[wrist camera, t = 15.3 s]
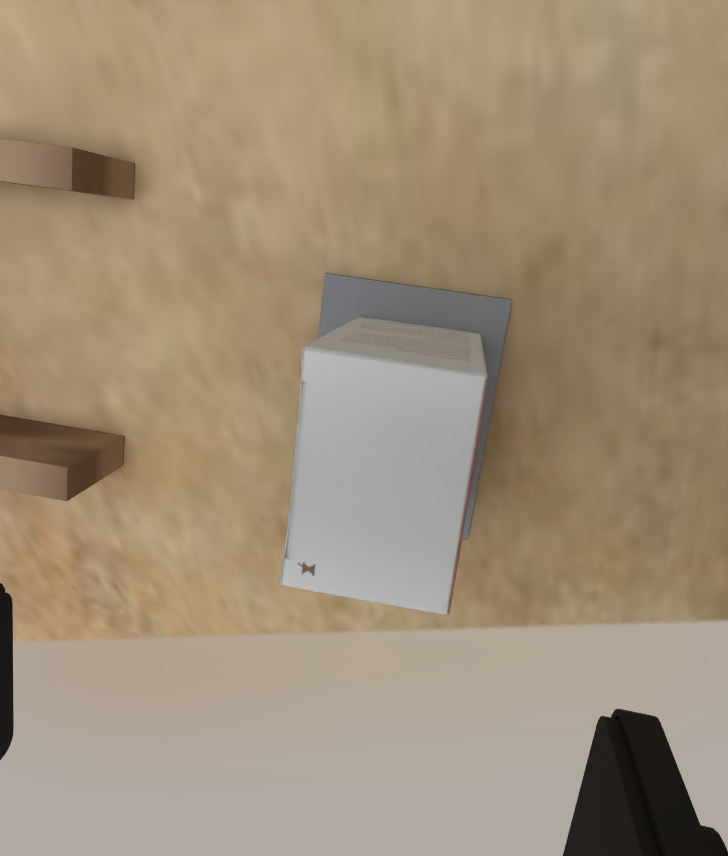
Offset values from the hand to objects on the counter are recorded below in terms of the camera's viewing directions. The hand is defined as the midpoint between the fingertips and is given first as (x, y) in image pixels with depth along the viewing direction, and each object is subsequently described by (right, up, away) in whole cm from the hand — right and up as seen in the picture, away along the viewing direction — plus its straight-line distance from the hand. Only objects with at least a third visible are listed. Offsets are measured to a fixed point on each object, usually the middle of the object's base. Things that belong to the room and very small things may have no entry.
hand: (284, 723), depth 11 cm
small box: (+3, +5, +20) cm, 21 cm away
